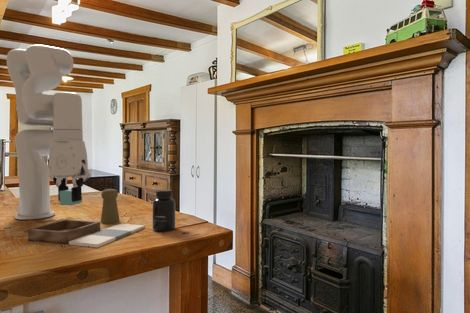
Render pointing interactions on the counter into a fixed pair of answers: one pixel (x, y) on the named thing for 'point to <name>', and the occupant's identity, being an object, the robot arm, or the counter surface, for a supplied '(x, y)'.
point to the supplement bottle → (163, 211)
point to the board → (106, 235)
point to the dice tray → (63, 231)
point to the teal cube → (67, 198)
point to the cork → (109, 207)
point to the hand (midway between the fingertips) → (70, 200)
